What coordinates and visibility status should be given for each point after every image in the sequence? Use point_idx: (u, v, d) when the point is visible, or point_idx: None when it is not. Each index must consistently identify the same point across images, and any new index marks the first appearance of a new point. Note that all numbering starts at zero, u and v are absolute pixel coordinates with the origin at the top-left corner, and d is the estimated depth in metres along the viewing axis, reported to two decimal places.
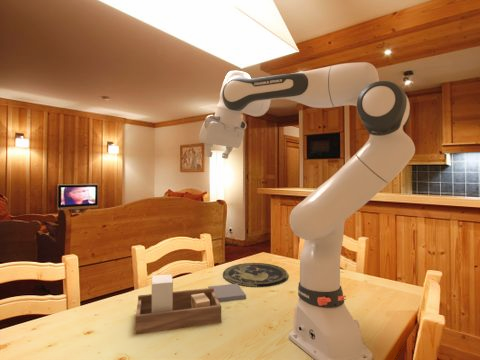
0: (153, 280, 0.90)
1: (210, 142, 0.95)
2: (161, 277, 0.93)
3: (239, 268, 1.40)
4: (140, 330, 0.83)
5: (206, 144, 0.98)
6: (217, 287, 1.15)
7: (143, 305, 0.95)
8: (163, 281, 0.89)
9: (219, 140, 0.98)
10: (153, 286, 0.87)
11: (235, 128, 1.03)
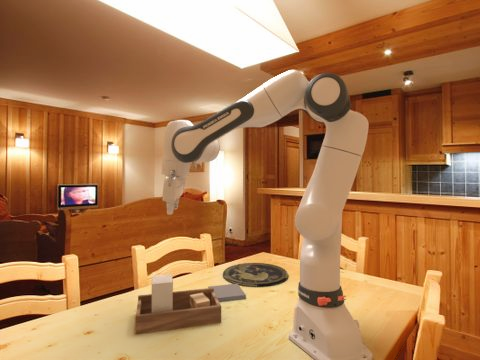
0: (153, 280, 0.90)
1: (175, 199, 0.89)
2: (161, 277, 0.93)
3: (239, 268, 1.40)
4: (140, 330, 0.83)
5: (168, 202, 0.89)
6: (217, 287, 1.15)
7: (143, 305, 0.95)
8: (163, 281, 0.89)
9: (177, 194, 0.92)
10: (153, 286, 0.87)
11: None
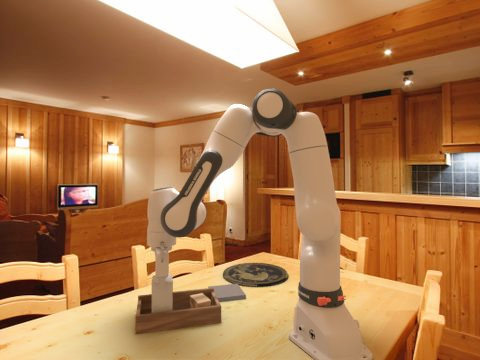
0: (153, 280, 0.90)
1: None
2: None
3: (239, 268, 1.40)
4: (140, 330, 0.83)
5: None
6: (217, 287, 1.15)
7: (143, 305, 0.95)
8: None
9: None
10: (153, 286, 0.87)
11: None
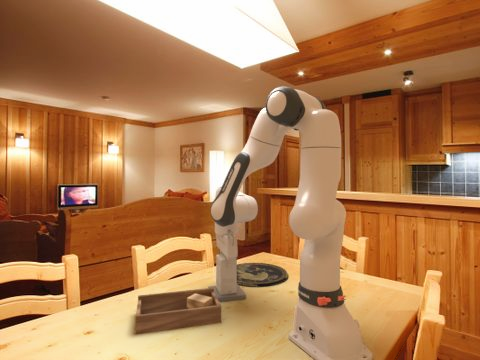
0: (219, 257, 1.10)
1: None
2: (224, 255, 1.13)
3: (238, 268, 1.40)
4: (140, 330, 0.83)
5: (229, 258, 1.05)
6: None
7: (143, 305, 0.95)
8: None
9: None
10: (222, 262, 1.07)
11: None
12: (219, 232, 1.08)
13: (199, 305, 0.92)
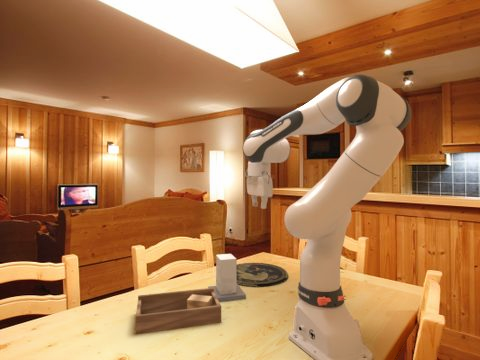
0: (219, 257, 1.10)
1: None
2: (224, 255, 1.13)
3: (238, 268, 1.40)
4: (140, 330, 0.83)
5: (263, 198, 1.07)
6: None
7: (143, 305, 0.95)
8: (228, 258, 1.09)
9: None
10: (222, 261, 1.07)
11: None
12: (253, 174, 1.10)
13: (202, 305, 0.92)
